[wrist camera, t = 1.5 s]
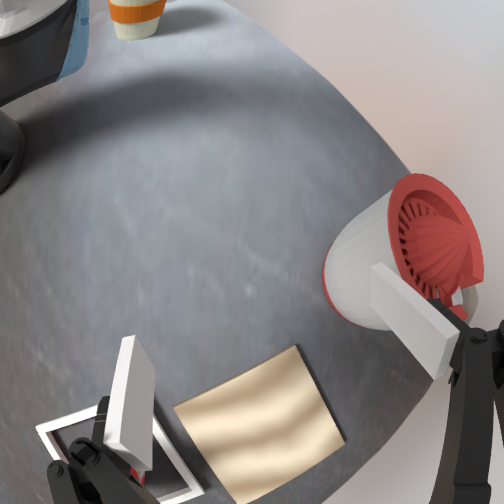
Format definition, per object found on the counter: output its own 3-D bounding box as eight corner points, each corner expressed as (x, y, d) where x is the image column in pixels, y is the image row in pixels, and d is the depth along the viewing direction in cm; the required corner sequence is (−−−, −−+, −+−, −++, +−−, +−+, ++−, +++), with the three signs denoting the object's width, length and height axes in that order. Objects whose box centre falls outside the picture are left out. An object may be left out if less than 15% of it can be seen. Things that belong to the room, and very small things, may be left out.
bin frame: (39, 424, 24) (35, 426, 22) (139, 387, 29) (138, 389, 28) (103, 519, 21) (102, 524, 20) (202, 488, 27) (204, 493, 25)
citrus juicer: (360, 369, 36) (483, 368, 18) (283, 271, 38) (381, 202, 19) (415, 297, 42) (518, 263, 24) (353, 211, 44) (443, 139, 25)
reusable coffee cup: (106, 24, 45) (106, -29, 31) (159, 15, 49) (166, -37, 35) (109, 50, 42) (107, -13, 28) (170, 38, 47) (179, -22, 33)
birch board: (173, 405, 29) (173, 407, 28) (292, 345, 35) (295, 345, 34) (238, 503, 27) (239, 506, 26) (341, 441, 32) (345, 443, 32)
